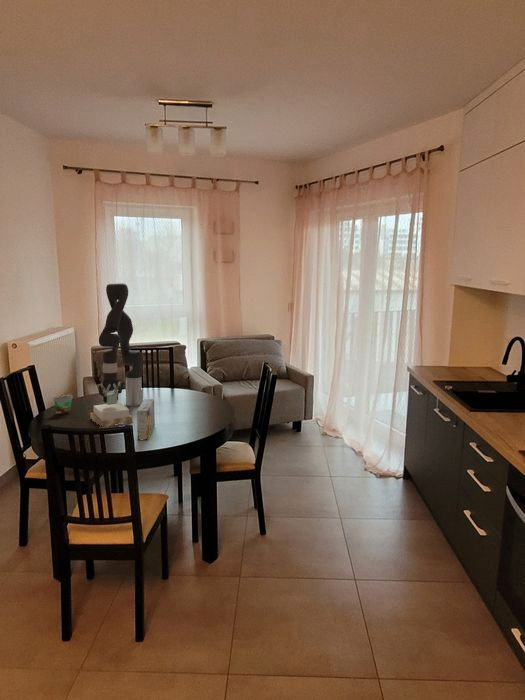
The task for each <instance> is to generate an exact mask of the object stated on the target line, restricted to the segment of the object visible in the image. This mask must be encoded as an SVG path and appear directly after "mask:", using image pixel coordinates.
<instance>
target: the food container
mask: <svg viewBox="0 0 525 700" xmlns="http://www.w3.org/2000/svg"><path fill="white" fill-rule="evenodd" d="M72 399H73V395H72V393H71V392H66V394H64V395H60V396H59V397H58V396H57V397H54V398H53V402H54V407H55V408H54V409H55V415H57V414H61V415H66V414H65V413H67V414H70V413H71V412H70V411H72V410H71V409H72ZM69 412H70V413H69Z"/></svg>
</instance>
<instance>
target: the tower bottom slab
mask: <svg viewBox="0 0 525 700" xmlns="http://www.w3.org/2000/svg"><path fill="white" fill-rule="evenodd" d="M89 414H90V417H89V418H90V420H91V419H92V420H91V421H92V422H94V423H95V422H96V423H95V424H97V425H98V424H99V425H100V426H99V425H98V426H99V427H101V426H102V427H106V428H110V427H109V426H108V425H115V424H119V423H127V424H132V423H133V416H132V415H131V414H129V417H124V418H118V419H111V420H105V421H102V420H101V419H100V418H99V417H98V416H97V415H96V414H94V411H93V412H90V413H89ZM131 422H132V423H131ZM102 427H101V428H102Z"/></svg>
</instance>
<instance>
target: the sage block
mask: <svg viewBox="0 0 525 700" xmlns="http://www.w3.org/2000/svg"><path fill="white" fill-rule="evenodd" d="M117 402H118V400H117V394H115V393H114V392H108V393H107V403H105V404H107V405H111V404H117Z"/></svg>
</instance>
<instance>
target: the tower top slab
mask: <svg viewBox="0 0 525 700" xmlns="http://www.w3.org/2000/svg"><path fill="white" fill-rule="evenodd" d="M92 406H93V407H92V408H93V412H94V414H96V415H97V416H98V417H99V418H100V419H101V420H102V421H105V420H111V419H118V418H124V417H129V415H130V409H129V408H128V407H127V406H125V405H123V403H121V402H120V401H119V402H118V401H117V404H111V405H107V404H106V403H104V404H98V405H97V404H96V405H92Z"/></svg>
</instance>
